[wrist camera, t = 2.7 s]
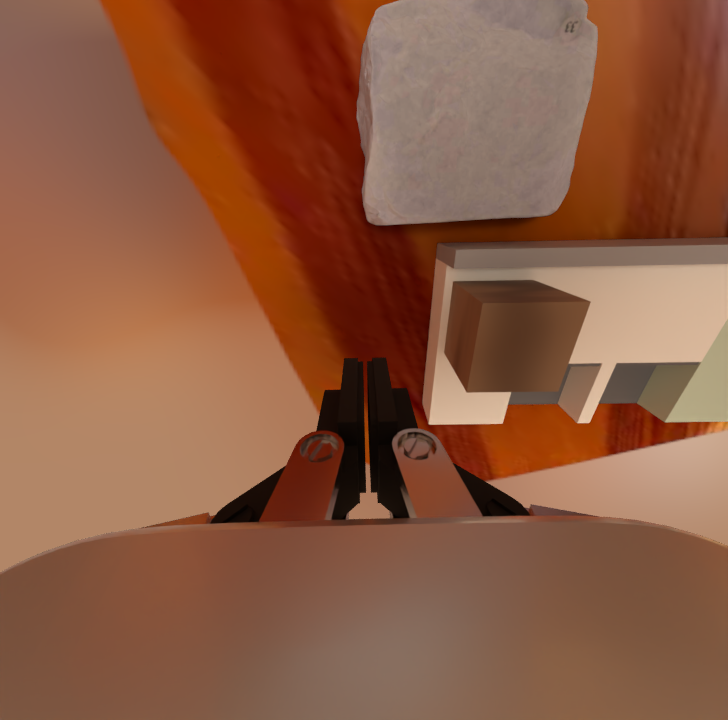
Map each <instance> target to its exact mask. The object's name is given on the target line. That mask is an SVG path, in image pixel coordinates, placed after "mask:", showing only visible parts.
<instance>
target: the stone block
mask: <svg viewBox="0 0 728 720" xmlns="http://www.w3.org/2000/svg"><path fill="white" fill-rule="evenodd" d="M587 12H588V5H587V3H586V1H584V0H399V1H396V2H393V3H390V4H386V5H383V6H381V7H379V8H378V9H377V10H376V11H375V15H374V16H373V18H372V21H371V23H370V26H369V29H368V33H367V36H366V40H365V42H364V44H363V49H362V56H361V71H360V79H359V96H358V100H357V121H358V125H359V131H360V136H361V147H362V150H363V152H364V155H365V171H364V173H365V175H364V183H363V187H362V197H363V206H364V210H365V213H366V218H367V221H368V222H370V223H372V224H374V225H399V224H419V223H439V222H452V221H466V220H480V219H500V218H530V217H542V216H549V215H551V214H552V213H554V212H555V211H556V210H557V209H558V208H559V206H560V205H561V203H562V201H563V199H564V197H565V195H566V193H567V191H568V189H569V186H570V177H571V173H572V170H573V167H574V160H575V153H576V149H577V146H578V141H579V137H580V133H581V130H582V126H583V120H584V116H585V113H586V109H587V106H588V102H589V99H590V94H591V89H592V83H593V77H594V67H595V62H596V57H597V40H598V32H597V26H596V25H594V24H593V23H592V22H591V21H589V20H588V19H587V18H586V17H587Z"/></svg>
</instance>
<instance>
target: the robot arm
mask: <svg viewBox="0 0 728 720" xmlns="http://www.w3.org/2000/svg"><path fill="white" fill-rule="evenodd" d="M367 380H368V430H369V454H370V477H371V492H377V495H378V496H377V497H378V503H381V504H382V505H383V506H385V507H386V508H387V509H388V510H389V511H390V519H349V511H350V510H352V508H354V507H355V506H356V505H357V504H358V503H360V493H366V474H365V429H364V384H363V362H358V358H344V366H343V375H342V384H341V390H325V392H324V396H323V401H322V406H321V411H320V416H319V421H318V426H317V431H316V432H311V433H309V434H308V435H305V436H304V437H303V438H301V439H300V440H299V442H298V443H297V444H296V446H295V448H294V450H293V452H292V454H291V456H290V458H289V460H288V463H287V465H286V466H285V467H283V468H282V469H280V470H279V471H277V472H276V473H274V474H273V475H271V476H270V477H268V478H266V479H265V480H264V481H262V482H260V483H259V484H257V485H256V486H254V487H253V488H251V489H250V490H248V491H247V492H245V493H244V494H242V495H241V496H239V497H238V498H236V499H235V500H233V501H232V502H230V503H229V504H227V505H226V506H225V507H223V508H222V509H221V510H220V511H219V512H218V513H217V514H216V515H214V516H210V515H209V513H203V514H199V515H195V516H191V517H186V518H182V519H178V520H173V521H169V522H164V523H160V524H156V525H151V526H147V527H142V528H138V529H131V530H124V531H118V532H111V533H106V534H102V535H98V536H94V537H90V538H85V539H81V540H78V541H74V542H71V543H68V544H65V545H62V546H59V547H56V548H54V549H51V550H48V551H45V552H42V553H40V554H37V555H35V556H33V557H30V558H28V559H26V560H24V561H21V562H19V563H17V564H16V565H13V566H11V567H9V568H7V569H6V570H4V571H2V572H0V720H728V546H727V545H724V544H722V543H720V542H717V541H714V540H712V539H709V538H706V537H703V536H701V535H697V534H694V533H690V532H687V531H683V530H679V529H676V528H673V527H669V526H664V525H659V524H654V523H649V522H644V521H638V520H631V519H622V518H612V517H598V516H593V515H587V514H581V513H576V512H571V511H565V510H559V509H554V508H548V507H542V506H537V505H531V506H530V508H524V507H523V506H522V504H520V503H519V502H518V501H516V500H515V499H513V498H512V497H510V496H508V495H507V494H505V493H504V492H502V491H500V490H498V489H497V488H495V487H493V486H491V485H490V484H488V483H486V482H485V481H483V480H481V479H480V478H478V477H476V476H475V475H473V474H471V473H469V472H468V471H466V470H464V469H463V468H461V467H459V466H457V465H456V464H454V463H452V461H451V460H450V458H449V456H448V454H447V453H446V451H445V449H444V447H443V446H442V444H441V442H440V441H439V440H438V438H437V437H436V436H434V435H433V434H432V433H430V432H428V431H425V430H422V429H418V426H417V423H416V419H415V415H414V412H413V408H412V405H411V401H410V397H409V394H408V390H407V388H393V389H392V388H391V383H390V377H389V372H388V367H387V361H386V358H372V361H367Z"/></svg>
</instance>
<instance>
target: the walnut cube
mask: <svg viewBox="0 0 728 720" xmlns="http://www.w3.org/2000/svg"><path fill="white" fill-rule="evenodd" d="M590 303H591V301H588V300H585V299H583V298H580V297H577V296H575V295H572V294H570V293H567V292H564V291H562V290H559V289H556V288H554V287H551V286H548V285H546V284H543V283H540V282H538V281H535V280H497V281H453V286H452V294H451V301H450V309H449V317H448V325H447V333H446V341H445V349H444V354H445V356H446V357H447V359H448V361H449V363H450V364H451V366H452V368H453V370H454V371H455V373H456V375H457V377H458V378H459V380H460V382H461V384H462V385H463V387H464V389H465V391H466V392H467V393H473V392H558V391H559V388H560V386H561V383H562V380H563V377H564V375H565V372H566V369H567V366H568V364H569V361H570V358H571V355H572V353H573V350H574V347H575V344H576V342H577V339H578V336H579V333H580V331H581V328H582V325H583V322H584V319H585V317H586V314H587V311H588V308H589V306H590Z"/></svg>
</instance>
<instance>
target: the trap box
mask: <svg viewBox="0 0 728 720" xmlns="http://www.w3.org/2000/svg"><path fill="white" fill-rule="evenodd" d="M497 280H535V281H538V282H540V283H543V284H546V285H548V286H551V287H554V288H556V289H559V290H562V291H564V292H567V293H570V294H572V295H575V296H577V297H580V298H583V299H585V300H588V301H591V303H590V306H589V308H588V311H587V314H586V317H585V319H584V322H583V325H582V328H581V331H580V333H579V336H578V339H577V342H576V344H575V347H574V350H573V353H572V355H571V358H570V361H569V364H568V366H567V369H566V372H565V375H564V377H563V380H562V383H561V386H560V388H559V391H558V392H473V393H467V392H466V391H465V389H464V387H463V385H462V384H461V382H460V380H459V378H458V377H457V375H456V373H455V371H454V370H453V368H452V366H451V364H450V363H449V361H448V359H447V357H446V356H445V354H444V349H445V341H446V333H447V325H448V317H449V309H450V301H451V294H452V286H453V281H497ZM598 403H637V404H639V405H640V406H642V407H643V408H645V409H646V410H648V411H649V412H651V413H652V414H653V415H655V416H656V417H658V418H659V419H661V420H662V421H664V422H728V237H718V238H667V239H615V240H563V241H511V242H460V243H437V253H436V263H435V274H434V284H433V295H432V305H431V316H430V326H429V337H428V347H427V358H426V368H425V379H424V389H423V400H422V404H423V407H424V410H425V414H426V417H427V420H428V423H429V425H431V424H503V421H504V417H505V413H506V410H507V406H508V404H558V405H559V406H560V407H561V408H562V409H563V410H564V411H565V412H566V413H567V414H568V415H569V416H570V417H571V418H572V419H573V420H574V421H575V422H577V423H590V421H591V419H592V416H593V414H594V412H595V410H596V408H597V405H598Z"/></svg>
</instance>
